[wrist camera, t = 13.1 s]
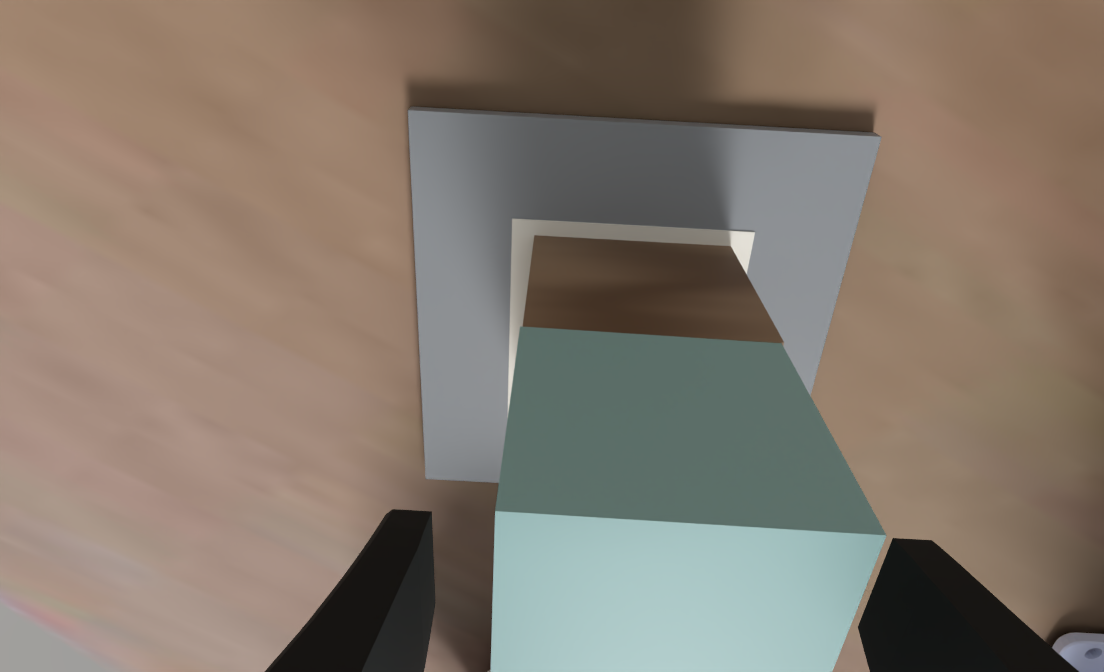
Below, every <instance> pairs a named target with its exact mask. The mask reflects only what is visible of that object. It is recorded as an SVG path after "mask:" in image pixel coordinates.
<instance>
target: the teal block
mask: <svg viewBox="0 0 1104 672" xmlns="http://www.w3.org/2000/svg"><path fill="white" fill-rule="evenodd" d="M885 538H886V534H885V532H884V530H883V528H882V526H881V525H880V523H879V521H878V519H877V517H876V515H875V514H874V512H873V510H872V508H871V506H870V504H869V503H868V501H867V499H866V497H865V495H864V493H863V492H862V490H861V488H860V486H859V484H858V482H857V481H856V479H855V477H854V475H853V473H852V471H851V470H850V468H849V466H848V464H847V462H846V460H845V459H844V457H843V455H842V453H841V451H840V449H839V448H838V446H837V444H836V442H835V440H834V439H833V437H832V435H831V433H830V431H829V429H828V428H827V426H826V424H825V422H824V420H823V418H822V417H821V415H820V413H819V411H818V409H817V407H816V406H815V404H814V402H813V400H812V398H811V396H810V395H809V393H808V391H807V389H806V387H805V385H804V384H803V382H802V380H801V378H800V376H799V374H798V373H797V371H796V369H795V367H794V365H793V363H792V362H791V360H790V358H789V356H788V354H787V352H786V351H785V349H784V347H783V345H782V343H767V342H752V341H737V340H721V339H706V338H690V337H675V336H660V335H644V334H629V333H613V332H598V331H583V330H567V329H552V328H536V327H521V326H520V330H519V338H518V345H517V353H516V360H515V368H514V375H513V382H512V390H511V397H510V405H509V412H508V420H507V427H506V434H505V442H504V449H503V457H502V464H501V471H500V479H499V486H498V494H497V501H496V509H495V534H494V568H493V603H492V637H491V672H832V671H833V668H834V666H835V663H836V661H837V658H838V656H839V653H840V651H841V648H842V646H843V643H844V641H845V638H846V636H847V633H848V631H849V628H850V626H851V623H852V621H853V618H854V616H855V613H856V611H857V608H858V606H859V603H860V601H861V598H862V596H863V593H864V591H865V588H866V586H867V583H868V581H869V578H870V575H871V573H872V570H873V568H874V565H875V563H876V560H877V558H878V555H879V553H880V550H881V548H882V545H883V543H884V540H885Z"/></svg>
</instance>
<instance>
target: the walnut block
mask: <svg viewBox="0 0 1104 672" xmlns="http://www.w3.org/2000/svg"><path fill="white" fill-rule="evenodd" d="M523 327H536V328H552V329H567V330H583V331H598V332H613V333H629V334H644V335H660V336H675V337H690V338H706V339H721V340H737V341H752V342H767V343H782V345H783V346H784V341H783V339H782V337H781V336H780V334H779V332H778V330H777V328H776V327H775V325H774V323H773V321H772V319H771V318H770V316H769V314H768V312H767V310H766V309H765V307H764V305H763V303H762V301H761V300H760V298H759V296H758V294H757V292H756V291H755V289H754V287H753V285H752V283H751V282H750V280H749V278H748V276H747V274H746V273H745V271H744V269H743V267H742V265H741V264H740V262H739V260H738V258H737V256H736V254H735V253H734V251H733V249H732V247H731V246H719V245H701V244H683V243H665V242H647V241H629V240H611V239H592V238H574V237H556V236H538V235H534V241H533V249H532V257H531V265H530V273H529V280H528V288H527V296H526V304H525V312H524V319H523Z"/></svg>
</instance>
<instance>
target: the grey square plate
mask: <svg viewBox="0 0 1104 672" xmlns="http://www.w3.org/2000/svg"><path fill="white" fill-rule="evenodd" d="M408 125H409V145H410V166H411V186H412V207H413V228H414V248H415V269H416V290H417V310H418V331H419V351H420V372H421V393H422V413H423V434H424V454H425V475H426V479H436V480H454V481H473V482H491V483H499V479H500V471H501V464H502V457H503V449H504V442H505V434H506V427H507V420H508V412H509V405H510V397H511V390H512V382H513V375H514V368H515V360H516V353H517V345H518V338H519V330H520V326H521V327H523V319H524V312H525V304H526V296H527V288H528V280H529V273H530V265H531V257H532V249H533V241H534V235H538V236H556V237H574V238H592V239H611V240H629V241H647V242H665V243H683V244H701V245H719V246H731V247H732V249H733V251H734V253H735V254H736V256H737V258H738V260H739V262H740V264H741V265H742V267H743V269H744V271H745V273H746V274H747V276H748V278H749V280H750V282H751V283H752V285H753V287H754V289H755V291H756V292H757V294H758V296H759V298H760V300H761V301H762V303H763V305H764V307H765V309H766V310H767V312H768V314H769V316H770V318H771V319H772V321H773V323H774V325H775V327H776V328H777V330H778V332H779V334H780V336H781V337H782V339H783V341H784V346H783V347H784V349H785V351H786V352H787V354H788V356H789V358H790V360H791V362H792V363H793V365H794V367H795V369H796V371H797V373H798V374H799V376H800V378H801V380H802V382H803V384H804V385H805V387H806V389H807V391H808V393H809V395H811V391H812V388H813V384H814V380H815V377H816V373H817V369H818V366H819V362H820V358H821V355H822V351H823V348H824V344H825V340H826V337H827V333H828V329H829V326H830V322H831V319H832V315H833V311H834V308H835V304H836V300H837V297H838V293H839V289H840V286H841V282H842V279H843V275H844V271H845V268H846V264H847V260H848V257H849V253H850V250H851V246H852V242H853V239H854V235H855V231H856V228H857V224H858V220H859V217H860V213H861V210H862V206H863V202H864V199H865V195H866V191H867V188H868V184H869V181H870V177H871V173H872V170H873V166H874V162H875V159H876V155H877V151H878V148H879V144H880V141H881V136H879V135H878V134H876V133H873V132H855V131H838V130H820V129H802V128H784V127H766V126H749V125H731V124H713V123H695V122H678V121H660V120H642V119H624V118H607V117H589V116H571V115H553V114H536V113H518V112H500V111H482V110H465V109H447V108H429V107H411V108H410V109H408Z"/></svg>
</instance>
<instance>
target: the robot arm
mask: <svg viewBox="0 0 1104 672" xmlns="http://www.w3.org/2000/svg"><path fill="white" fill-rule="evenodd" d="M434 608H435V584H434V559H433V534H432V512H429V511H412V510H395V509H393V510H391V511H390V512H389V513H387V514H386V515H385V517H384V518H383V520H382V521H381V523H380V525H379V526H378V528H377V529H376V531H375V532H374V534H373V535H372V537H371V538H370V540H369V541H368V543H367V544H366V545H365V547H364V548H363V550H362V551H361V553H360V554H359V555H358V557H357V558H356V560H355V561H354V562H353V564H352V565H351V566H350V568H349V569H348V571H347V572H346V573H345V575H344V576H343V577H342V579H341V580H340V581H339V583H338V584H337V585H336V587H335V588H334V589H333V590H332V592H331V593H330V594H329V595H328V597H327V598H326V599H325V601H324V602H323V603H322V604H321V606H320V607H319V608H318V609H317V611H316V612H315V613H314V615H313V616H312V617H311V618H310V620H309V621H308V622H307V623H306V624H305V626H304V627H303V628H302V629H301V631H300V632H299V633H298V634H297V635H296V636H295V637H294V639H293V640H292V641H291V642H290V643H289V644H288V645H287V647H286V648H285V649H284V650H283V651H282V652H281V654H280V655H279V656H278V657H277V658H276V659H275V660H274V662H273V663H272V664H271V665H270V666H269V667H268V669H267V670H266V671H265V672H424V668H425V663H426V657H427V651H428V645H429V639H430V633H431V627H432V620H433V614H434ZM858 629H859V633H860V637H861V640H862V644H863V648H864V652H865V655H866V659H867V663H868V666H869V670H870V672H1104V634H1095V633H1076V632H1075V633H1068V634H1065V635H1063V636H1061V637H1059V638H1058V639H1057V640H1056V642H1055V643H1054V645H1053V647H1050V646H1049V645H1048V644H1047V643H1046V642H1045V641H1044V640H1043V639H1041V638H1040V637H1039V636H1038V635H1037V634H1036V633H1035V632H1034V631H1032V630H1031V629H1030V628H1029V627H1028V626H1027V625H1026V624H1025V623H1024V622H1023V621H1021V620H1020V619H1019V618H1018V617H1017V616H1016V615H1015V614H1014V613H1013V612H1011V611H1010V610H1009V609H1008V608H1007V607H1006V606H1005V605H1004V604H1003V603H1002V602H1000V601H999V600H998V599H997V598H996V597H995V596H994V595H993V594H992V593H991V592H990V591H988V590H987V589H986V588H985V587H984V586H983V585H982V584H981V583H980V582H979V581H977V580H976V579H975V578H974V577H973V576H972V575H971V574H970V573H969V572H968V571H966V570H965V569H964V568H963V567H962V566H961V565H960V564H959V563H958V562H956V561H955V560H954V559H953V558H952V557H951V556H950V555H948V554H947V553H946V552H945V551H944V550H943V549H942V548H940V547H939V546H938V545H937V544H936V543H934V542H933V541H932V540H916V539H898V538H893V539H892V542H891V544H890V547H889V549H888V552H887V555H886V557H885V560H884V562H883V565H882V567H881V570H880V572H879V575H878V577H877V580H876V583H875V585H874V588H873V590H872V593H871V595H870V598H869V600H868V603H867V605H866V608H865V610H864V613H863V616H862V618H861V621H860V623H859V626H858Z"/></svg>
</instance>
